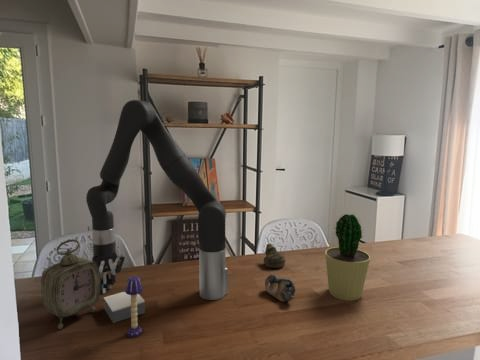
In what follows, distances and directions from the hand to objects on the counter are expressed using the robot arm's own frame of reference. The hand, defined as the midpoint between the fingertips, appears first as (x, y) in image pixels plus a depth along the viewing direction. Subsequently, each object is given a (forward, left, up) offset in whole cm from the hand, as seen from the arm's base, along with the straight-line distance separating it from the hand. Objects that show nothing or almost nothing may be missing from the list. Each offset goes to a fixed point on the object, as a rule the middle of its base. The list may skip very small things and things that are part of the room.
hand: (106, 285), depth 120 cm
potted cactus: (-70, +52, -2) cm, 87 cm away
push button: (0, 0, -2) cm, 2 cm away
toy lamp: (0, +32, -2) cm, 32 cm away
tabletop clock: (+13, +13, -2) cm, 18 cm away
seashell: (-65, +20, -2) cm, 68 cm away
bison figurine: (-48, +40, -2) cm, 63 cm away
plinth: (-1, +18, -2) cm, 18 cm away
